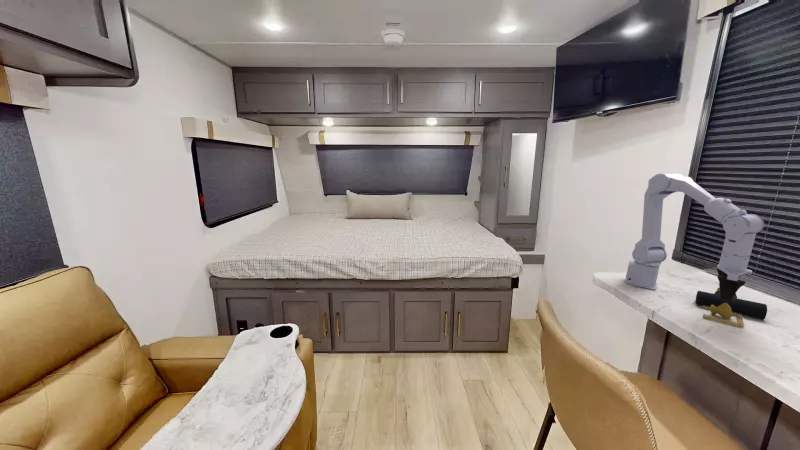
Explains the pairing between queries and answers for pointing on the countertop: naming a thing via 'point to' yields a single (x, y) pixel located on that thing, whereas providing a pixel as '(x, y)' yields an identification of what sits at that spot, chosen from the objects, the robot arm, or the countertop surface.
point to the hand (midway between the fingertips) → (724, 295)
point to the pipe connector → (733, 304)
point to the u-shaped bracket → (737, 324)
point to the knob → (722, 310)
